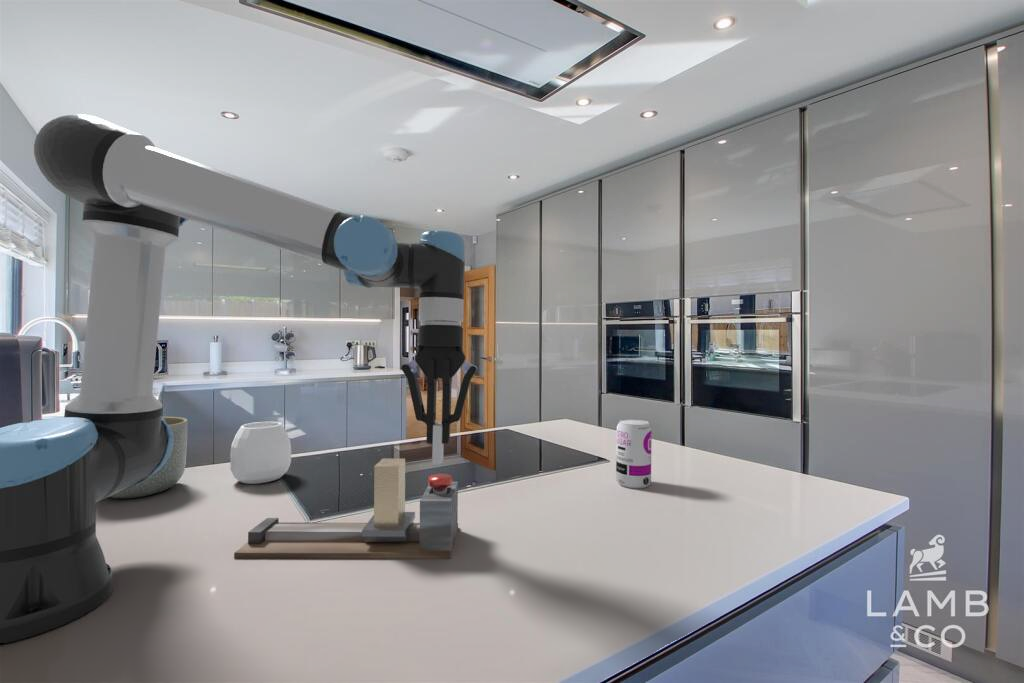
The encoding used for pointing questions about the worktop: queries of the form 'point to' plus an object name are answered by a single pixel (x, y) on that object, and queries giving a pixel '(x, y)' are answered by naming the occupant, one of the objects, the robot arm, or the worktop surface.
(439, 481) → the red mushroom button
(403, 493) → the carriage
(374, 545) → the rail deck
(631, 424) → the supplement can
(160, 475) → the planter
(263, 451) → the white vase
